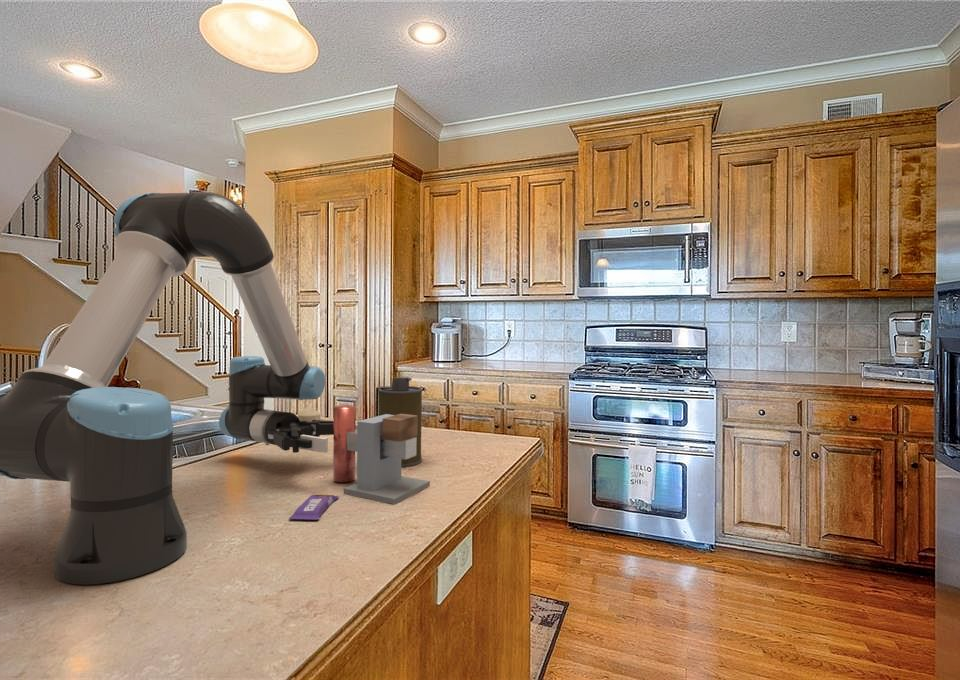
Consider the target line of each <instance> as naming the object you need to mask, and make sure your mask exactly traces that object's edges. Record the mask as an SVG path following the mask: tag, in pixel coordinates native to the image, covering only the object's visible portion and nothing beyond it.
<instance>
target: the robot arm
mask: <svg viewBox="0 0 960 680" xmlns="http://www.w3.org/2000/svg"><path fill="white" fill-rule="evenodd" d="M113 223H114V224H115V226H116V227H114V228H113V232H114V237H115V239H114V241H115V242H114V243H115V246H116V250H117V251H118V253H117V255H116V256H115V258H114V259H113V260H112V262H111V264H110V265H109V266H108V268H107V269H106V271H105V272H104V274H103V275H102V277H101V279H99V281H98V283H97V284H96V286H95V287H94V289H93V291H92V292H91V294H89V296H88V297H87V299H86V301H85V302H84V303H83V305H82V307H80V309H79V311H78V312H77V314H76V315H75V317H74V319H73V320H72V321H71V323H70V325H69V326H68V328H67V329H66V330H65V332H64V333H63V335H61V338H60V339H59V340H58V342H57V343H56V346H55V347H54V348H53V349H52V351H51V353H50V354H49V356H48V357H47V359H45V362H44V363H43V364H42V366H39V367H35V368H32V369H31V368H30V369H27V370H26V369H25V371H23V372H22V374H21V375H20V376H19V378H18V379H17V381H16V382H15V383H14V385H13V387H12V388H11V389H10V391H9V392H7V393H6V392H5V393H4V392H2V393H0V476H1V477H6V478H8V479H12V480H13V479H14V480H26V479H29V480H30V479H31V480H42V481H43V480H44V481H58V482H67V483H68V482H69V487H70V489H69V490H70V491H69V492H70V511H69V516H68V518H67V521H66V524H65V527H64V530H63V532H62V534H61V535H62V536H61V538H60V540H59V544H58V546H57V548H56V551H55V554H54V558H53V559H54V562H53V563H54V564H53V566H54V567H53V568H54V576H55V578H56V579H58V580H59V581H61V582H63V583H67V584H73V585H101V584H107V583H116V582H120V581H126V580H129V579H132V578H136V577H140V576H143V575H146V574H149V573H152V572H155V571H157V570H159V569H161V568H164V567H166V566H168V565H169V564H172V563H173V562H175V561H176V560H177V559H179V558H180V557H181V556H182V555H183V554H184V553H185V552H186V550H187V548H188V545H187V543H188V539H187V537H188V534H187V529H186V526H185V524H184V521H183V519H182V516H181V514H180V511H179V509H178V506H177V503H176V501H175V498H174V495H173V454H174V453H173V446H174V442H173V435H174V432H173V431H174V421H173V417H172V407H171V406H172V405H171V403H170V402H171V401H170V400H169V399H168V398H167V397H166V396H165V395H164V394H162V393H160V392H157V391H153V390H149V389H144V388H138V387H128V386H127V387H118V386H109V385H110V383H111V381H112V379H113V378H114V376H115V375H116V373H117V372H118V369H119V367H120V366H121V364H122V362H123V361H124V359H125V357H126V355H127V354H128V352H129V350H130V348H131V346H132V344H133V343H134V342H135V339H136V338H137V336H138V334H139V332H140V331H141V329H142V327H143V325H144V324H145V322H146V320H147V319H148V318H149V316H150V313H151V312H152V310H153V308H154V307H155V305H156V303H157V302H158V300H159V298H160V297H161V295H162V293H163V291H164V289H165V287H166V286H167V284H168V282H169V280H170V279H171V278H174V277H176V278H177V277H180V276H181V275H184V273H185V272H186V270H187V268H188V266H189V264H190V263H191V261H192V260H193V259H194V258H200V257H201V258H205V257H206V258H207V257H210V258H212V259H215V260H216V261H218V263H219V265H220V267H221V270H222V271H223V273H224V274H226V275H229V276H231V278H232V280H233V283H234V284H235V287H236V289H237V292H238V293H239V297H240V298H241V301H242V303H243V305H244V307H245V311H246V312H247V314H248V317H249V319H250V321H251V324H252V326H253V328H254V330H255V333H256V335H257V337H258V340H259V342H260V344H261V346H262V349H263V351H264V353H265V356H266V358H267V360H268V362H269V364H266V363H265V359H264V357H263V356H257V355H256V356H255V355H244V356H243V355H242V356H234V357H232V358H230V361H229V370H228V376H227V377H228V399H229V400H228V401H229V404H228V406H227V407H226V408H225V409H223V411H221V415H220V417H219V418H218V427H219V430H220V431H221V433H222V434H224V436H227V437H229V438H230V437H231V438H233V439H236V440H241V441H252V442H257V443H263V444H265V446H270V445H274V446H277V447H278V448H280V449H281V450H282V451H284V452H285V451H290V449H291V448H292V453H293V454H294V453H295V454H296V453H300V452H299V451H300V449H301V450H304V451H305V450H306V451H312V452H318V453H323V454H326V453H328V452H329V450H328V449H329V447H328V443H329V442H328V438H326V437H321V436H334V420H321V419H320V420H312V421H311V422H308V421H300V420H299V418H298V415H296V414H295V413H294V412H290V411H280V410H274V409H265V399H280V400H281V399H282V400H283V399H285V400H299V401H305V400H307V401H309V400H310V401H311V400H316V399H319V398H320V397H321V396H322V394H323V392H324V391H325V388H326V387H325V386H326V376H325V373H324V370H323V369H321V368H320V367H317V366H314V365H311V366H310V365H309V362H308V359H307V357H306V355H305V352H304V349H303V346H302V344H301V341H300V338H299V336H298V333H297V330H296V327H295V325H294V322H293V319H292V317H291V314H290V312H289V308H288V306H287V303H286V301H285V298H284V295H283V292H282V289H281V288H280V287H281V286H280V284H279V281H278V279H277V276H276V274H275V270H274V268H273V266H272V263H273V261H274V260H275V259H274V258H275V256H274V252H273V249H272V247H271V245H270V242H269V240H268V238H267V236H266V235H265V233H264V231H263V230H262V228H261V227H260V225H259V224H258V222H257V221H255V219H254V218H253V216H251V215H250V214H249V213H248V212H247V210H245V209H244V208H243V207H242V206H241V205H240V204H238V203H237V202H236V201H234V200H233V199H231V198H229V197H227V196H225V195H222V194H219V193H215V192H212V191H211V192H210V191H201V192H173V193H172V192H169V193H167V192H165V193H164V192H162V193H161V192H148V193H144V194H138V195H134V196H131V197H129V198H127V199H125V200H124V201H123V202H122V203H121V204H120V205H119V206H118V208H117V209H116V211H115V214H114V217H113ZM355 430H357V423H355ZM313 431H314V432H316V434H313ZM319 435H320V437H319ZM299 447H300V448H299Z"/></svg>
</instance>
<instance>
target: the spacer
mask: <svg viewBox="0 0 960 680" xmlns="http://www.w3.org/2000/svg"><path fill="white" fill-rule="evenodd" d="M417 432H418V416H417V415H408V414H398V415H394V416H390V417H387V418H383V425H382V439H384V440H391V441H398V442H400V441H403V440H406V439H409V438H412V437H415V436H417Z"/></svg>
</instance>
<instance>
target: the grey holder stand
mask: <svg viewBox="0 0 960 680" xmlns="http://www.w3.org/2000/svg"><path fill="white" fill-rule="evenodd" d="M390 416H394V415H389V414H385V415H381V416H379V415H378V416H377V417H376V416H374V417H373V416H372V417H369V418H366V419H361V420H357V421H356V422H357V423H356V424H357V452H356V483H353V484H351V485H349V486H346V487H344V488H343V494H345V495H349V496H353V497H358V498H364V499H366V500H372V501H377V502H381V503H387V504H390V505H396V504H397V503H400V502H401V501H404V500H405V499H407V498H410V497H412V496H413V495H415V494H417V493H419V492H421V491H423V490H425V489H427V488H428V487H430V485H431V483H430V482H431V481H430V480H426V479H420V478H414V477H409V476H403V475H402V467H401V459H399V458H392V457H386V456H380V435H381V434H382V425H383V418H387V417H390Z"/></svg>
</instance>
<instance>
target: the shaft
mask: <svg viewBox="0 0 960 680" xmlns="http://www.w3.org/2000/svg"><path fill="white" fill-rule="evenodd" d="M356 410H357V409H356V405H353V404H352V405H351V404H349V405H348V404H344V405H343V404H342V405H341V404H340V405H336V406H333V421H334V435H333V446H332V447H333V448H332V449H333V455H332V456H333V457H332V458H333V459H332V460H333V468H332V469H333V471H332V473H333V481H334V482H338V483H339V482H340V483H344V482H345V483H347V482H352V481H354V480H355V479H356V453H357V430H355V424H356V422H357V421H356V416H357V415H356V412H357V411H356ZM416 443H417V437H412V438H409V439H406V440H403V441H400V442H398V441H391V440H384V439H382V434H381V435H380V456H386V457H392V458H399V459H405V460H406V459H409V458H411V457H414V456H416Z"/></svg>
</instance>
